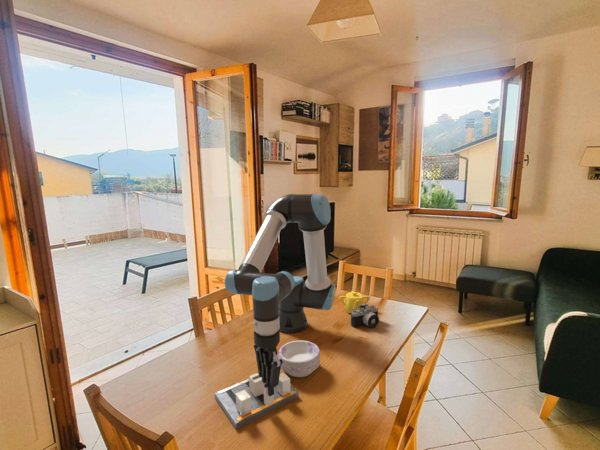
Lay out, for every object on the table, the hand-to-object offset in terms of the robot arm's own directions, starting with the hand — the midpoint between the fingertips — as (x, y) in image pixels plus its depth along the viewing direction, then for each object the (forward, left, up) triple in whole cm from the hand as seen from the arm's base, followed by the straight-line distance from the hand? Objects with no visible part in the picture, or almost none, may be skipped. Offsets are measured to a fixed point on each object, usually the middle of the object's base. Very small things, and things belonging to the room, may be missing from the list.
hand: (269, 402), depth 97 cm
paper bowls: (-12, +20, -4) cm, 23 cm away
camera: (-21, +66, -4) cm, 69 cm away
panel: (-8, 0, -3) cm, 8 cm away
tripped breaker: (-8, 0, -1) cm, 8 cm away
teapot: (-35, +72, -4) cm, 81 cm away
